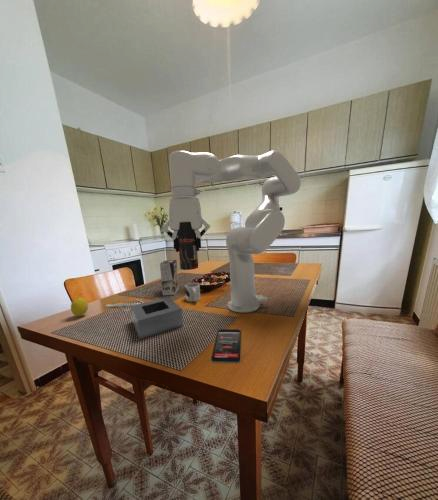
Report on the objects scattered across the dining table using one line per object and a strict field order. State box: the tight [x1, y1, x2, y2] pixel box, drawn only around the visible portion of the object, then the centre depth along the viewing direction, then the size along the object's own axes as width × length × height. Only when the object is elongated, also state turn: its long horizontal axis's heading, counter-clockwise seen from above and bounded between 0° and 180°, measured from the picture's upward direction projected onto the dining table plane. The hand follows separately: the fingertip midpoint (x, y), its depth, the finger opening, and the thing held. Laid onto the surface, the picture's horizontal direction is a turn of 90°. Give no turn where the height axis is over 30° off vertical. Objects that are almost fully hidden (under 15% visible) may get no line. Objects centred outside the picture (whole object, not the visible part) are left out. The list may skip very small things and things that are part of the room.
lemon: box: [70, 296, 89, 318], centre depth 80 cm, size 6×6×8 cm
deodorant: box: [177, 222, 199, 271], centre depth 66 cm, size 6×6×15 cm
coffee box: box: [159, 259, 179, 296], centre depth 103 cm, size 9×6×16 cm
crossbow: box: [105, 298, 144, 313], centre depth 89 cm, size 16×13×2 cm
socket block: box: [130, 296, 184, 340], centre depth 71 cm, size 14×14×6 cm
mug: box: [184, 282, 201, 303], centre depth 91 cm, size 10×7×7 cm, turn 18°
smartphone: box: [210, 328, 242, 364], centre depth 57 cm, size 7×1×15 cm
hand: (187, 250), depth 66 cm, fingers closed on deodorant, 6 cm apart
